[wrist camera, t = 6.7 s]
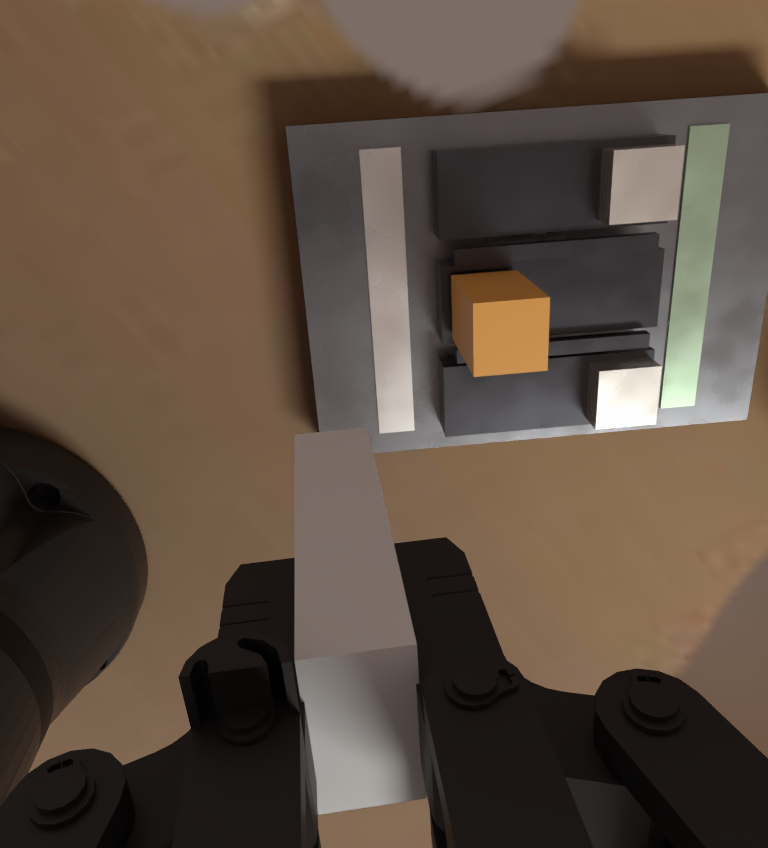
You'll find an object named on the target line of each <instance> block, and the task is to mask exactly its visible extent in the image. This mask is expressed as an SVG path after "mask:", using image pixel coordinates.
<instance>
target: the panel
mask: <svg viewBox="0 0 768 848" xmlns="http://www.w3.org/2000/svg"><path fill="white" fill-rule="evenodd" d="M285 127H286V136H287V145H288V154H289V163H290V172H291V181H292V190H293V199H294V208H295V217H296V226H297V235H298V244H299V253H300V262H301V271H302V281H303V290H304V299H305V308H306V317H307V326H308V335H309V344H310V353H311V362H312V371H313V380H314V389H315V398H316V407H317V416H318V425H319V432H325V431H335V430H344V429H353V428H362V427H367V429H368V433H369V437H370V442H371V446H372V450H373V453H380V452H391V451H402V450H413V449H424V448H435V447H447V446H458V445H469V444H480V443H491V442H502V441H513V440H524V439H536V438H547V437H558V436H569V435H580V434H591V433H602V432H613V431H625V430H636V429H647V428H658V427H669V426H680V425H691V424H702V423H714V422H725V421H736V420H747V416H748V410H749V404H750V397H751V391H752V385H753V379H754V373H755V366H756V360H757V354H758V348H759V342H760V336H761V329H762V323H763V317H764V311H765V305H766V298H767V292H768V92H766V93H752V94H737V95H723V96H709V97H694V98H680V99H665V100H651V101H636V102H622V103H608V104H593V105H579V106H564V107H550V108H535V109H521V110H507V111H492V112H478V113H463V114H449V115H434V116H420V117H405V118H391V119H377V120H362V121H348V122H333V123H319V124H304V125H290V126H285ZM509 270H517V271H519V272H520V273H521V274H522V275H524V276H525V277H526V278H527V279H528V280H530V281H531V282H532V283H533V284H535V285H536V286H537V287H538V288H539V289H541V290H542V291H543V292H544V293H546V294H547V295H548V296H549V297H550V316H549V345H548V371H538V372H527V373H515V374H503V375H492V376H480V377H473V375H472V373H471V371H470V369H469V368H468V366H467V364H466V362H465V361H464V359H463V357H462V355H461V353H460V352H459V350H458V348H457V346H456V344H455V343H454V341H453V339H452V298H451V275H458V274H471V273H484V272H496V271H509Z"/></svg>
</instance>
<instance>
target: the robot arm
mask: <svg viewBox="0 0 768 848" xmlns="http://www.w3.org/2000/svg"><path fill="white" fill-rule="evenodd" d="M147 577H148V564H147V555H146V550H145V546H144V542H143V539H142V536H141V533H140V530H139V528H138V526H137V524H136V522H135V519H134V518H133V516H132V514H131V512H130V511H129V509H128V508H127V506H126V505H125V503H124V502H123V500H122V499H121V498H120V496H119V495H118V494H117V493H116V491H115V490H114V489H113V488H112V487H111V486H110V485H109V484H108V483H107V482H106V481H105V480H104V479H103V478H102V477H101V476H100V475H99V474H98V473H96V472H95V471H94V470H93V469H92V468H90V467H89V466H88V465H86V464H85V463H84V462H82V461H81V460H79V459H78V458H76V457H75V456H73V455H72V454H70V453H68V452H67V451H65V450H63V449H61V448H59V447H57V446H55V445H53V444H51V443H49V442H47V441H45V440H42V439H40V438H37V437H35V436H32V435H29V434H26V433H23V432H19V431H16V430H12V429H8V428H3V427H0V848H321V844H320V838H319V831H318V815H319V814H326V813H332V812H339V811H346V810H352V809H359V808H365V807H372V806H379V805H385V804H392V803H398V802H405V801H412V800H418V799H425V798H426V792H427V797H428V802H429V807H430V820H431V836H432V848H768V758H767V757H766V756H765V755H763V754H762V753H761V752H760V751H759V750H758V749H757V748H756V747H755V746H754V745H753V744H752V743H751V742H750V741H749V740H748V739H747V738H745V737H744V736H743V735H742V734H741V733H740V732H739V731H738V730H737V729H736V728H735V727H734V726H733V725H732V724H731V723H730V722H729V721H728V720H727V719H726V718H725V717H723V716H722V715H721V714H720V713H719V712H718V711H717V710H716V709H715V708H714V707H713V706H712V705H711V704H710V703H709V702H708V701H707V700H706V699H705V698H704V697H702V696H701V695H700V694H699V693H698V692H697V691H696V690H694V689H693V688H691V687H690V686H689V685H687V684H686V683H684V682H683V681H682V680H680V679H678V678H675V677H673V676H670V675H667V674H665V673H662V672H659V671H653V670H644V669H632V670H626V671H620V672H617V673H615V674H613V675H612V676H610V677H608V678H607V679H605V680H603V682H602V683H601V685H600V687H599V688H598V690H597V692H596V694H595V696H593V695H585V694H577V693H569V692H562V691H557V690H552V689H547V688H544V687H542V686H539V685H537V684H534V683H532V682H530V681H529V680H527V679H526V678H524V677H523V675H522V674H521V673H520V671H519V670H518V668H517V667H516V666H514V665H513V664H511V663H510V662H508V661H507V660H506V658H505V656H504V654H503V652H502V649H501V647H500V644H499V642H498V639H497V636H496V634H495V631H494V629H493V626H492V623H491V621H490V618H489V616H488V613H487V610H486V608H485V605H484V603H483V600H482V597H481V595H480V593H479V591H478V587H477V584H476V582H475V579H474V577H473V576H472V571H471V569H470V566H469V564H468V561H467V558H466V556H465V553H464V552H463V551H462V550H460V549H459V548H458V547H457V546H456V545H455V544H453V543H452V542H451V541H450V540H449V539H447V538H446V537H444V538H436V539H428V540H420V541H411V542H403V543H395V544H394V542H393V538H392V533H391V529H390V525H389V520H388V516H387V512H386V507H385V503H384V498H383V494H382V490H381V485H380V481H379V477H378V472H377V468H376V464H375V459H374V455H373V450H372V446H371V442H370V437H369V433H368V429H367V427H362V428H353V429H344V430H335V431H325V432H316V433H307V434H298V435H295V558H290V559H282V560H274V561H266V562H257V563H249V564H241V565H240V566H239V568H238V569H237V570H236V572H235V573H234V574H233V576H232V577H231V578H230V580H229V581H228V582H227V584H226V586H225V592H224V599H223V606H222V607H223V611H222V613H221V619H220V629H219V633H218V638H216V639H214V640H213V641H211V642H209V643H207V644H205V645H203V646H202V647H200V648H199V649H198V650H197V651H196V652H195V653H194V654H193V655H192V656H191V657H190V658H189V659H188V660H187V661H186V662H185V664H184V666H183V668H182V671H181V673H180V675H179V681H180V685H181V689H182V693H183V698H184V702H185V706H186V710H187V714H188V718H189V722H190V726H191V729H190V730H189V731H188V732H187V733H186V734H185V735H183V736H182V737H181V738H179V739H178V740H177V741H175V742H174V743H173V744H171V745H169V746H167V747H165V748H163V749H161V750H159V751H157V752H155V753H152V754H150V755H148V756H145V757H143V758H140V759H138V760H135V761H133V762H130V763H128V764H126V765H123V766H122V764H121V763H120V762H119V761H118V760H117V759H116V758H115V757H114V756H113V755H112V754H111V753H108V752H104V751H100V750H97V749H84V750H74V751H69V752H67V753H64V754H62V755H59V756H57V757H54V758H52V759H49V760H47V761H46V762H44V763H43V764H41V765H40V766H38V767H37V768H36V769H34V770H33V771H31V772H30V773H28V772H29V770H30V768H31V766H32V763H33V761H34V759H35V756H36V754H37V752H38V750H39V748H40V745H41V743H42V741H43V739H44V737H45V734H46V732H47V730H48V728H49V726H50V724H51V723H52V722H53V721H54V720H55V719H56V718H57V716H58V715H59V714H60V713H61V712H62V711H63V710H64V708H65V707H66V706H67V705H68V704H69V703H70V702H71V701H72V700H73V699H74V697H75V696H76V695H77V694H78V693H79V692H80V691H81V690H82V689H83V688H84V686H86V685H87V684H88V683H90V682H91V681H92V680H94V679H95V678H96V677H97V676H98V675H99V674H100V673H101V672H103V671H104V670H105V669H106V668H107V667H108V666H109V664H110V663H111V662H112V661H113V660H114V659H115V658H116V656H117V655H118V654H119V652H120V651H121V649H122V647H123V646H124V644H125V643H126V641H127V639H128V637H129V635H130V633H131V631H132V629H133V626H134V623H135V621H136V618H137V615H138V613H139V610H140V608H141V605H142V602H143V599H144V596H145V592H146V586H147ZM317 809H318V810H317Z"/></svg>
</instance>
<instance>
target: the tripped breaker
mask: <svg viewBox="0 0 768 848" xmlns="http://www.w3.org/2000/svg"><path fill="white" fill-rule="evenodd" d="M451 298H452V339H453V341H454V343H455V344H456V346H457V348H458V350H459V352H460V353H461V355H462V357H463V359H464V361H465V362H466V364H467V366H468V368H469V369H470V371H471V373H472V375H473V377H480V376H492V375H503V374H515V373H527V372H538V371H548V345H549V316H550V297H549V296H548V295H547V294H546V293H544V292H543V291H542V290H541V289H539V288H538V287H537V286H536V285H535V284H533V283H532V282H531V281H530V280H528V279H527V278H526V277H525V276H524V275H522V274H521V273H520V272H519V271H517V270H509V271H496V272H484V273H471V274H458V275H451Z"/></svg>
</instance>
